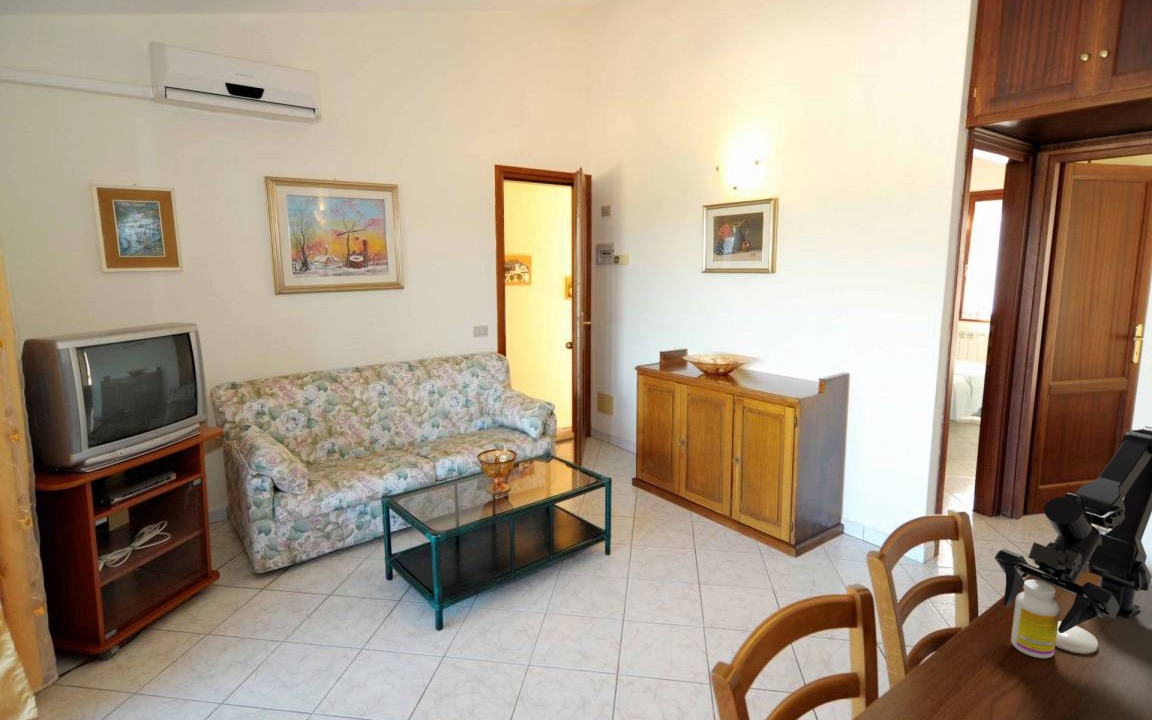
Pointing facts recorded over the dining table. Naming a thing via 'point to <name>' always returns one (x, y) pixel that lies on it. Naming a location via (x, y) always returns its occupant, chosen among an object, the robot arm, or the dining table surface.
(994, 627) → the dining table surface
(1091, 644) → the coaster
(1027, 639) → the supplement bottle
